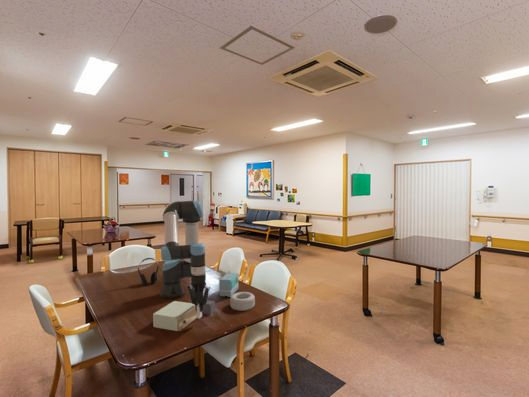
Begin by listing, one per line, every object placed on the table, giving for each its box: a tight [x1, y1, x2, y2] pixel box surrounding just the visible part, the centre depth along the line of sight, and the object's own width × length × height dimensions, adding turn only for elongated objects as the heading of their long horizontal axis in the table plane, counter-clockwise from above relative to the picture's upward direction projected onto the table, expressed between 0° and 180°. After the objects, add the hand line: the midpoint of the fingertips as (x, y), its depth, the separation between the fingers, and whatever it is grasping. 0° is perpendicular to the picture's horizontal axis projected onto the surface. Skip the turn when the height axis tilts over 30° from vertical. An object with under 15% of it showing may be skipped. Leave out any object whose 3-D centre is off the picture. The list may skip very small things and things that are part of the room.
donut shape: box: [229, 291, 256, 312], centre depth 176 cm, size 15×15×7 cm
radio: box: [218, 272, 240, 298], centre depth 197 cm, size 16×9×20 cm, turn 166°
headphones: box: [137, 257, 159, 286], centre depth 220 cm, size 9×15×20 cm, turn 123°
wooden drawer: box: [177, 306, 198, 332], centre depth 157 cm, size 16×18×6 cm
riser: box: [202, 299, 216, 316], centre depth 168 cm, size 5×5×6 cm
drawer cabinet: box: [152, 300, 195, 332], centre depth 157 cm, size 15×18×7 cm
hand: (199, 317), depth 153 cm, fingers closed
